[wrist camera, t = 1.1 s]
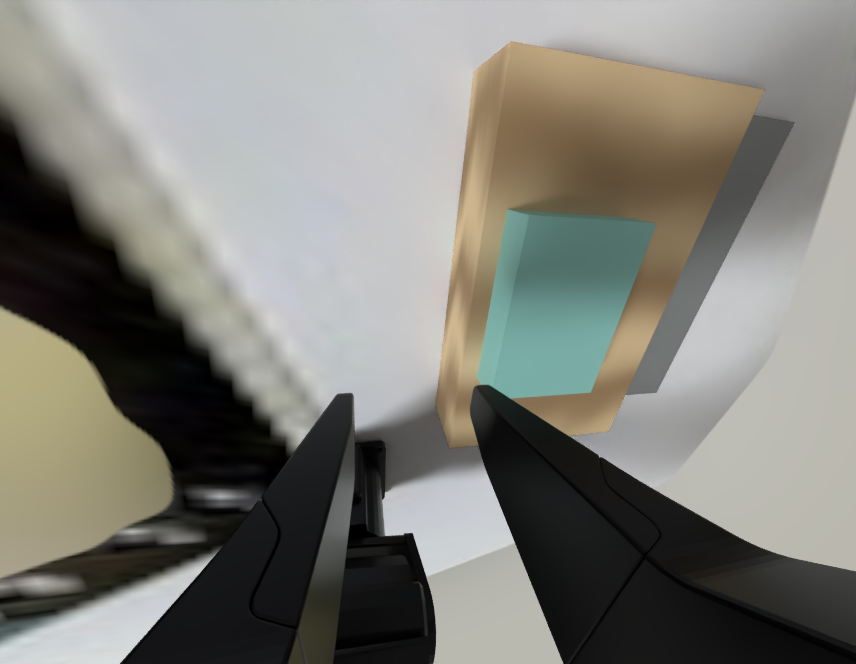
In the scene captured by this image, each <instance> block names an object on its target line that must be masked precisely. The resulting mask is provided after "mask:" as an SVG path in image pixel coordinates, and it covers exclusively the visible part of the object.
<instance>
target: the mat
mask: <svg viewBox="0 0 856 664" xmlns="http://www.w3.org/2000/svg"><path fill="white" fill-rule="evenodd" d="M794 123H795V122H789V121H783V120H777V119H771V118H765V117H758V116H753V117H752V119H751V121H750V123H749V126H748V128H747V130H746V132H745V134H744V137H743V139H742V141H741V143H740V145H739V148H738V150H737V152H736V154H735V156H734V158H733V161H732V163H731V165H730V167H729V169H728V172H727V174H726V176H725V178H724V180H723V182H722V185H721V187H720V189H719V191H718V193H717V196H716V198H715V200H714V202H713V204H712V207H711V209H710V211H709V213H708V215H707V217H706V220H705V222H704V224H703V226H702V228H701V231H700V233H699V235H698V237H697V239H696V241H695V244H694V246H693V248H692V250H691V252H690V255H689V257H688V259H687V261H686V263H685V266H684V268H683V270H682V272H681V274H680V276H679V279H678V281H677V283H676V285H675V287H674V290H673V292H672V294H671V296H670V298H669V300H668V303H667V305H666V307H665V309H664V311H663V314H662V316H661V318H660V320H659V322H658V325H657V327H656V329H655V331H654V333H653V335H652V338H651V340H650V342H649V344H648V346H647V349H646V351H645V353H644V355H643V357H642V360H641V362H640V364H639V366H638V368H637V370H636V373H635V375H634V377H633V379H632V381H631V384H630V386H629V388H628V390H627V392H626V394H625V395H631V394H644V393H656V392H657V390H658V388H659V387H660V385H661V383H662V381H663V379H664V377H665V375H666V373H667V371H668V369H669V367H670V365H671V363H672V361H673V359H674V357H675V355H676V353H677V351H678V349H679V347H680V345H681V344H682V342H683V340H684V338H685V336H686V334H687V332H688V330H689V328H690V326H691V324H692V322H693V320H694V318H695V316H696V314H697V312H698V310H699V308H700V306H701V304H702V303H703V301H704V299H705V297H706V295H707V293H708V291H709V289H710V287H711V285H712V283H713V281H714V279H715V277H716V275H717V273H718V271H719V269H720V267H721V265H722V263H723V262H724V260H725V258H726V256H727V254H728V252H729V250H730V248H731V246H732V244H733V242H734V240H735V238H736V236H737V234H738V232H739V230H740V228H741V226H742V224H743V222H744V220H745V219H746V217H747V215H748V213H749V211H750V209H751V207H752V205H753V203H754V201H755V199H756V197H757V195H758V193H759V191H760V189H761V187H762V185H763V183H764V181H765V179H766V178H767V176H768V174H769V172H770V170H771V168H772V166H773V164H774V162H775V160H776V158H777V156H778V154H779V152H780V150H781V148H782V146H783V144H784V142H785V140H786V138H787V137H788V135H789V133H790V131H791V129H792V127H793V125H794Z"/></svg>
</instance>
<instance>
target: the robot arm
mask: <svg viewBox="0 0 856 664" xmlns="http://www.w3.org/2000/svg"><path fill="white" fill-rule="evenodd" d="M470 416H471V420H472V424H473V427H474V431H475V435H476V438H477V442H478V446H479V449H480V453H481V456H482V460H483V463H484V466H485V469H486V471H487V474H488V476H489V479H490V481H491V484H492V486H493V489H494V491H495V494H496V496H497V499H498V501H499V504H500V506H501V509H502V511H503V514H504V516H505V519H506V521H507V524H508V526H509V529H510V531H511V534H512V536H513V539H514V541H515V544H516V546H517V549H518V551H519V554H520V556H521V559H522V561H523V563H524V566H525V569H526V571H527V574H528V576H529V579H530V581H531V584H532V586H533V589H534V591H535V594H536V596H537V599H538V601H539V604H540V606H541V609H542V611H543V614H544V616H545V619H546V621H547V624H548V626H549V629H550V631H551V634H552V636H553V639H554V641H555V644H556V646H557V649H558V651H559V653H560V656H561V659H562V661H563V664H856V571H851V570H846V569H841V568H837V567H832V566H827V565H822V564H817V563H813V562H808V561H803V560H798V559H794V558H790V557H786V556H783V555H779V554H776V553H773V552H771V551H768V550H765V549H763V548H760V547H758V546H756V545H753V544H751V543H749V542H747V541H745V540H743V539H741V538H739V537H737V536H735V535H733V534H732V533H730V532H728V531H726V530H725V529H723V528H721V527H719V526H718V525H716V524H714V523H712V522H710V521H709V520H707V519H705V518H703V517H702V516H700V515H698V514H696V513H695V512H693V511H691V510H689V509H687V508H685V507H684V506H682V505H680V504H678V503H677V502H675V501H673V500H671V499H670V498H668V497H666V496H664V495H663V494H661V493H659V492H657V491H656V490H654V489H652V488H651V487H649V486H647V485H646V484H644V483H642V482H640V481H639V480H637V479H635V478H634V477H632V476H631V475H629V474H627V473H626V472H624V471H623V470H621V469H619V468H618V467H616V466H615V465H613V464H612V463H610V462H608V461H607V460H605V459H604V458H602V457H600V458H599V456H598V455H597V454H596V453H594V452H593V451H591V450H590V449H588V448H587V447H585V446H583V445H582V444H580V443H579V442H577V441H576V440H574V439H573V438H571V437H569V436H568V435H566V434H565V433H563V432H562V431H560V430H559V429H557V428H555V427H554V426H552V425H551V424H549V423H548V422H546V421H545V420H543V419H541V418H540V417H538V416H537V415H535V414H534V413H532V412H531V411H529V410H528V409H526V408H524V407H523V406H521V405H520V404H518V403H517V402H515V401H514V400H512V399H510V398H509V397H507V396H506V395H504V394H503V393H501V392H500V391H498V390H496V389H495V388H493V387H492V386H490V385H487V384H486V385H476V386H475V387H474V388H473V393H472V398H471V404H470ZM385 457H386V448H385V443H384V442H382V441H375V442H365V443H355V422H354V396H353V394H352V393H342V394H337V395H336V396H335V397H334V399H333V400H332V402H331V403H330V404H329V406H328V407H327V408H326V410H325V411H324V412H323V414H322V415H321V416H320V418H319V419H318V420H317V422H316V423H315V425H314V426H313V427H312V429H311V430H310V431H309V433H308V434H307V435H306V437H305V438H304V439H303V441H302V442H301V443H300V445H299V446H298V448H297V449H296V450H295V452H294V453H293V454H292V456H291V457H290V458H289V460H288V461H287V462H286V464H285V465H284V466H283V468H282V469H281V471H280V472H279V473H278V475H277V476H276V477H275V479H274V480H273V481H272V483H271V484H270V485H269V487H268V488H267V489H266V491H265V492H264V494H263V495H262V496H261V500H259V501H257V503H256V504H255V505H254V507H253V508H252V509H251V511H250V512H249V514H248V515H247V516H246V518H245V519H244V520H243V521H242V523H241V524H240V525H239V527H238V528H237V529H236V530H235V532H234V533H233V534H232V536H231V537H230V538H229V539H228V541H227V542H226V543H225V545H224V546H223V547H222V548H221V549H220V550H219V552H218V553H217V554H216V555H215V556H214V557H213V559H212V560H211V561H210V562H209V563H208V564H207V566H206V567H205V568H204V569H203V570H202V571H201V573H200V574H199V575H198V576H197V577H196V578H195V579H194V581H193V582H192V583H191V584H190V585H189V586H188V587H187V589H186V590H185V591H184V592H183V593H182V594H181V595H180V596H179V598H178V599H177V600H176V601H175V602H174V603H173V604H172V605H171V607H170V608H169V609H168V610H167V611H166V612H165V613H164V614H163V616H162V617H161V618H160V619H159V620H158V621H157V622H156V624H155V625H154V626H153V627H152V628H151V629H150V630H149V631H148V633H147V634H146V635H145V636H144V637H143V638H142V639H141V640H140V642H139V643H138V644H137V645H136V646H135V647H134V648H133V649H132V651H131V652H130V653H129V654H128V655H127V656H126V657H125V659H124V660H123V661H122V662H121V663H120V664H433V662H434V657H435V647H436V624H435V613H434V606H433V600H432V595H431V591H430V588H429V584H428V582H427V578H426V575H425V572H424V568H423V565H422V562H421V559H420V555H419V552H418V549H417V546H416V542H415V539H414V536H413V533H404V535H396V536H385V532H384V519H383V506H382V499H384V497H385Z"/></svg>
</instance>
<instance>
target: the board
mask: <svg viewBox="0 0 856 664" xmlns="http://www.w3.org/2000/svg"><path fill="white" fill-rule="evenodd" d="M764 91H765V90H763V89H758V88H753V87H748V86H742V85H737V84H732V83H727V82H722V81H716V80H711V79H706V78H701V77H695V76H690V75H685V74H680V73H675V72H669V71H664V70H659V69H654V68H648V67H643V66H638V65H633V64H628V63H622V62H617V61H612V60H607V59H601V58H596V57H591V56H586V55H581V54H575V53H570V52H565V51H560V50H555V49H549V48H544V47H539V46H534V45H528V44H523V43H518V42H513V41H511V42H510V43H508V44H507V45H506V46H505V47H504V48H502V49H501V50H500V51H499V52H497V53H496V54H495V55H494V56H492V57H491V58H490V59H489V60H488V61H486V62H485V63H484V64H483V65H481V66H480V67H479V68H478V69H476V70H475V71H474V77H473V86H472V95H471V103H470V112H469V121H468V129H467V138H466V147H465V156H464V164H463V173H462V182H461V191H460V199H459V208H458V217H457V226H456V234H455V243H454V252H453V260H452V269H451V278H450V287H449V295H448V304H447V313H446V322H445V330H444V339H443V348H442V356H441V365H440V374H439V383H438V391H437V400H436V409H437V412H438V415H439V418H440V422H441V425H442V428H443V431H444V434H445V437H446V440H447V443H448V446H449V449H450V448H459V447H468V446H478V442H477V438H476V435H475V431H474V427H473V424H472V420H471V416H470V404H471V398H472V393H473V388H474V387H475V386H476V385H481V384H480V382H479V380H478V379H477V374H478V368H479V363H480V357H481V352H482V346H483V341H484V335H485V330H486V324H487V319H488V313H489V308H490V302H491V296H492V291H493V285H494V280H495V274H496V269H497V263H498V258H499V252H500V247H501V241H502V236H503V230H504V225H505V219H506V214H507V209H513V210H528V211H543V212H558V213H573V214H588V215H603V216H618V217H626V218H632V219H637V220H642V221H648V222H653V223H657V225H656V228H655V230H654V233H653V235H652V238H651V240H650V243H649V245H648V248H647V251H646V253H645V256H644V258H643V261H642V263H641V266H640V268H639V271H638V273H637V276H636V279H635V281H634V284H633V286H632V289H631V291H630V294H629V296H628V299H627V301H626V304H625V307H624V309H623V312H622V314H621V317H620V319H619V322H618V324H617V327H616V329H615V332H614V335H613V337H612V340H611V342H610V345H609V347H608V350H607V352H606V355H605V357H604V360H603V363H602V365H601V368H600V370H599V373H598V375H597V378H596V380H595V383H594V385H593V388H592V391H591V393H579V394H566V395H552V396H539V397H525V398H512V400H514V401H515V402H517V403H518V404H520V405H521V406H523V407H524V408H526V409H528V410H529V411H531V412H532V413H534V414H535V415H537V416H538V417H540V418H541V419H543V420H545V421H546V422H548V423H549V424H551V425H552V426H554V427H555V428H557V429H559V430H560V431H562V432H563V433H565V434H566V435H568V436H572V435H581V434H590V433H600V432H609V429H610V427H611V425H612V423H613V421H614V419H615V416H616V414H617V412H618V410H619V408H620V405H621V403H622V401H623V399H624V397H625V394H626V392H627V390H628V388H629V386H630V384H631V381H632V379H633V377H634V375H635V373H636V370H637V368H638V366H639V364H640V362H641V360H642V357H643V355H644V353H645V351H646V349H647V346H648V344H649V342H650V340H651V338H652V335H653V333H654V331H655V329H656V327H657V325H658V322H659V320H660V318H661V316H662V314H663V311H664V309H665V307H666V305H667V303H668V300H669V298H670V296H671V294H672V292H673V290H674V287H675V285H676V283H677V281H678V279H679V276H680V274H681V272H682V270H683V268H684V266H685V263H686V261H687V259H688V257H689V255H690V252H691V250H692V248H693V246H694V244H695V241H696V239H697V237H698V235H699V233H700V231H701V228H702V226H703V224H704V222H705V220H706V217H707V215H708V213H709V211H710V209H711V207H712V204H713V202H714V200H715V198H716V196H717V193H718V191H719V189H720V187H721V185H722V182H723V180H724V178H725V176H726V174H727V172H728V169H729V167H730V165H731V163H732V161H733V158H734V156H735V154H736V152H737V150H738V148H739V145H740V143H741V141H742V139H743V137H744V134H745V132H746V130H747V128H748V126H749V123H750V121H751V119H752V117H753V115H754V113H755V110H756V108H757V106H758V104H759V102H760V99H761V97H762V95H763V93H764Z"/></svg>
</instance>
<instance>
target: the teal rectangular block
mask: <svg viewBox="0 0 856 664" xmlns="http://www.w3.org/2000/svg"><path fill="white" fill-rule="evenodd" d="M656 225H657V223H653V222H648V221H642V220H637V219H632V218H626V217H618V216H603V215H588V214H573V213H558V212H543V211H528V210H513V209H507V214H506V219H505V225H504V230H503V236H502V241H501V247H500V252H499V258H498V263H497V269H496V274H495V280H494V285H493V291H492V296H491V302H490V308H489V313H488V319H487V324H486V330H485V335H484V341H483V346H482V352H481V357H480V363H479V368H478V374H477V379H478V380H479V382H480V384H481V385H486V384H487V385H490V386H492V387H493V388H495V389H496V390H498V391H500V392H501V393H503V394H504V395H506V396H507V397H509V398H510V399H512V398H525V397H539V396H552V395H566V394H579V393H591V391H592V388H593V385H594V383H595V380H596V378H597V375H598V373H599V370H600V368H601V365H602V363H603V360H604V357H605V355H606V352H607V350H608V347H609V345H610V342H611V340H612V337H613V335H614V332H615V329H616V327H617V324H618V322H619V319H620V317H621V314H622V312H623V309H624V307H625V304H626V301H627V299H628V296H629V294H630V291H631V289H632V286H633V284H634V281H635V279H636V276H637V273H638V271H639V268H640V266H641V263H642V261H643V258H644V256H645V253H646V251H647V248H648V245H649V243H650V240H651V238H652V235H653V233H654V230H655V228H656Z"/></svg>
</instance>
